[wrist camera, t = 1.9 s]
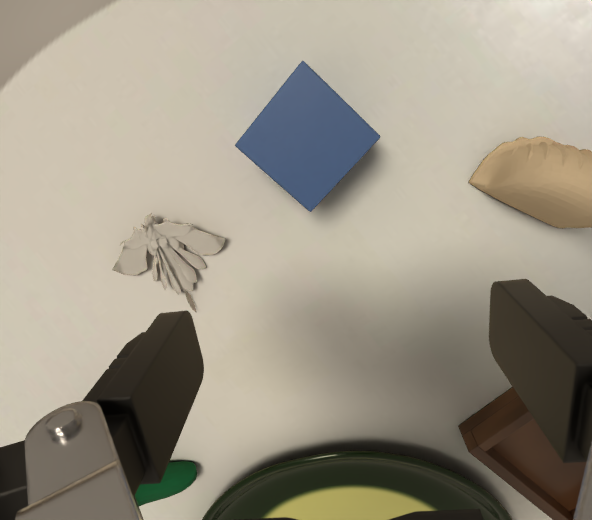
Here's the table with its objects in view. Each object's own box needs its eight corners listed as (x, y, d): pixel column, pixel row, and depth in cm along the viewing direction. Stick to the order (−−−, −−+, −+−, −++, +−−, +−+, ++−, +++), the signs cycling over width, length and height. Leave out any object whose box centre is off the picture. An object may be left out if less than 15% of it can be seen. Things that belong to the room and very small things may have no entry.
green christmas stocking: (139, 374, 33) (63, 423, 30) (157, 390, 30) (75, 446, 27) (184, 457, 36) (120, 510, 33) (204, 479, 34) (136, 539, 30)
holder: (579, 338, 28) (603, 360, 26) (682, 438, 31) (711, 466, 28) (457, 425, 31) (468, 452, 29) (559, 509, 34) (577, 539, 32)
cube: (305, 66, 23) (302, 60, 19) (370, 129, 24) (381, 137, 20) (248, 136, 24) (234, 145, 20) (311, 193, 25) (310, 212, 21)
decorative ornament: (508, 116, 23) (559, 121, 18) (627, 183, 24) (706, 206, 19) (465, 180, 25) (502, 202, 20) (579, 241, 26) (641, 277, 21)
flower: (252, 288, 29) (249, 312, 27) (149, 314, 30) (137, 339, 28) (210, 191, 25) (202, 209, 23) (95, 225, 27) (75, 245, 24)
